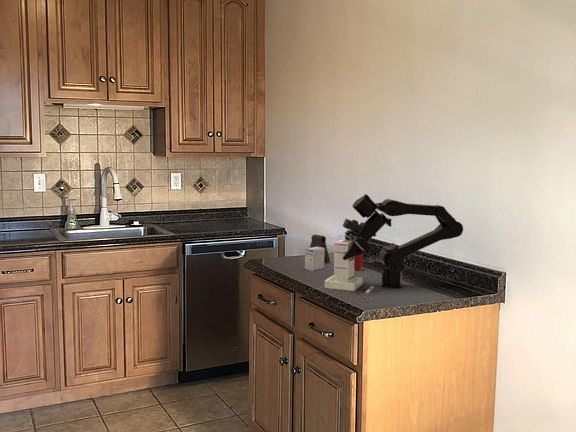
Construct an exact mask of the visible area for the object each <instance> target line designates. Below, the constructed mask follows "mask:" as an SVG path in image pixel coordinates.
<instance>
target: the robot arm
mask: <svg viewBox="0 0 576 432" xmlns="http://www.w3.org/2000/svg"><path fill="white" fill-rule="evenodd" d="M351 208H353V209H354V210H355V211H356V212H357V213H358V214H359V215H360V216H361V217H362V218H367V219H366V220H365V222H363V221H362V222H361V221H360V223H359V221H358V220H356V219H352V220H351V219H348V218H345V219H344V221H343V224H342V227H343V228H345V229H346V231H345V232H344V234H345V235H344V240H352V243H351V247H350V248H349V250H348V251H347V252H346V254H345V255H344V257H343V259H344V260H347V259H349V258H352V257H354V256H357V255H360V254H362V253H363V254H365V253H369V252H370V251H371V249H372V245H371V244H370V243H369V241H371V239H372V238H373V237H374V238H375V237H376V236H377V233H379V231H380V230H381V229H382V228H383V227H384V226H385V225H386V226H387V227H392V221H393V220H392V218H390V217H398V216H399V217H400V216H405V215H414V216H415V215H416V216H417V215H418V216H429V217H431V216H432V217H435V218H436V220H437V221H438V223H439V224H438V225H437V226H436V228H435V229H433V230H432V231H429V232H426V233H425V234H422V235H420V236H418V237H416V238H414V239H411V240H410V241H407V242H405V243H402V244H400V245H397V244H396V243H394V242H392V243H390V244H389V245H386V246H383V247H382V249H381V250H380V251H379V253H378V260H379V262H381V264H382V265H383V267H384V269H383V271H382V273H381V284H382V285H381V286H382V287H386V288H387V287H388V288H397V289H398V288H399V289H400V288H401V287H402V286H403V285H404V283H403V271H404V269H405V265H404V264H403V262H402V261H404V259H405V258H406V257H407V256H409V255H411V254H413V253H416V252H418V251H420V250H422V249H424V248H427V247H429V246H431V245H433V244H435V243H437V242H440V241H444V240H450V239H454V238H458V237H461V236H462V234H463V232H464V226H463V224H462V223H461V222H459V221H457V220H456V219H455V218H454V216H452V215H451V214H450V212H449V211H448V210H447V209H446V208H445V207H444V205H439V204H435V205H433V204H432V205H431V204H419V203H418V204H417V203H406V202H402V201H399V200H395V199H391V198H386V199H384V200H383V201H382V202H376V203H375V201H374V200H372V199H371V198H370V196H369V194H367V193H365V194H363V196H360V198H358V199H356V200H355V201H354V202H353V204H352V206H351ZM378 211H379V212H378ZM380 212H382V213H380ZM386 215H387V216H389V218H388V217H387V216H386ZM354 241H355V242H354Z"/></svg>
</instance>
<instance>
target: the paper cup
mask: <svg viewBox="0 0 576 432" xmlns="http://www.w3.org/2000/svg"><path fill="white" fill-rule="evenodd" d="M363 257H364V253H362V254H360V255H357V256H355V272H357V271H358V272H359V271H362V268H363Z"/></svg>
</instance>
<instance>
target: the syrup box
mask: <svg viewBox="0 0 576 432" xmlns="http://www.w3.org/2000/svg"><path fill="white" fill-rule="evenodd" d="M354 242H355V241H354ZM351 243H352V240H345V239H340V240H337V241H334V243H333V254H334V255H333V262H334V263H333V265H334V267H333V268H334V269H333V270H334V271H333V275H334V280H335V281H340V282H350V281H352V280H354V279H355V277H356V276H355V275H356V271H355V256H354V257H352V258H349V259H347V260H344V259H343V257H344V255H345V254H346V252H347V251H348V250H349V248H350V247H351Z"/></svg>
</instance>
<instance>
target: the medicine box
mask: <svg viewBox="0 0 576 432" xmlns="http://www.w3.org/2000/svg"><path fill="white" fill-rule="evenodd" d="M324 259H325V248H322V247H312V248H310V247H309V248H305V249H304V270H306V271H309V272H310V271H311V272H314V271H317V270H322V269H325V264H324Z"/></svg>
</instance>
